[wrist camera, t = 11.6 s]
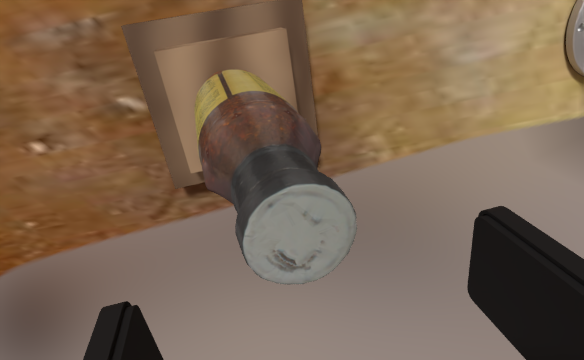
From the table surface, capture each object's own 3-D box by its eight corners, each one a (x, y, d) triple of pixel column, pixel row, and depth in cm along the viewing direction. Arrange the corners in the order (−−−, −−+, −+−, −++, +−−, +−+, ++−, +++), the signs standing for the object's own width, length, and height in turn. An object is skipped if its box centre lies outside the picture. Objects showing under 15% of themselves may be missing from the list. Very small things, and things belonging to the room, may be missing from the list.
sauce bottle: (213, 152, 31) (232, 346, 13) (180, 82, 28) (147, 210, 10) (285, 124, 31) (396, 276, 13) (260, 52, 28) (360, 125, 10)
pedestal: (294, -3, 31) (307, -5, 27) (313, 147, 37) (326, 163, 33) (127, 24, 29) (115, 27, 25) (177, 177, 35) (174, 198, 31)
